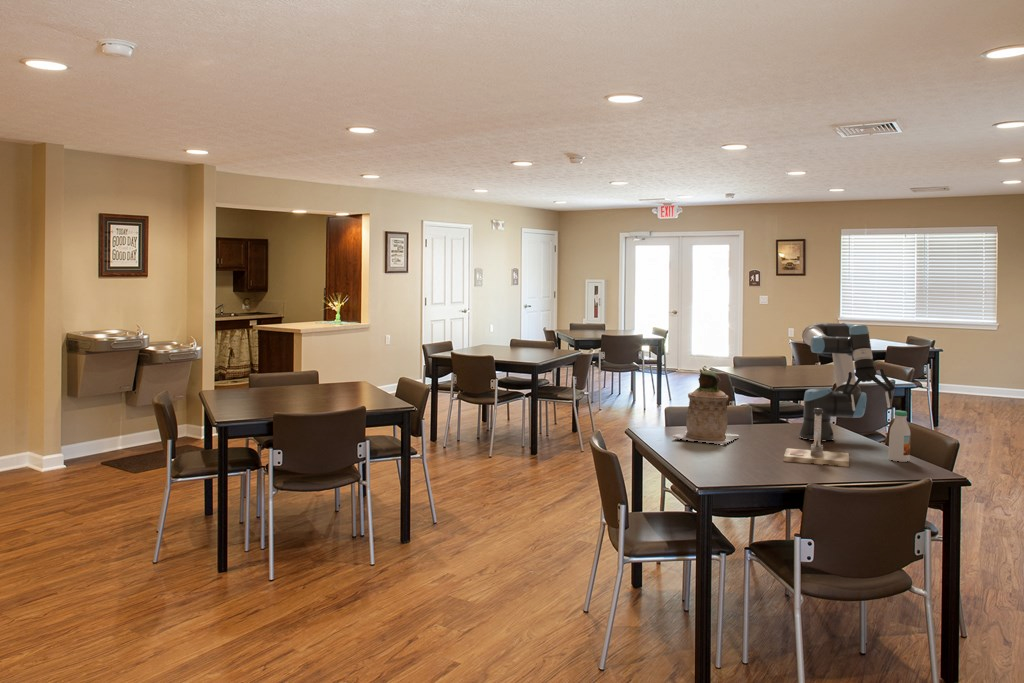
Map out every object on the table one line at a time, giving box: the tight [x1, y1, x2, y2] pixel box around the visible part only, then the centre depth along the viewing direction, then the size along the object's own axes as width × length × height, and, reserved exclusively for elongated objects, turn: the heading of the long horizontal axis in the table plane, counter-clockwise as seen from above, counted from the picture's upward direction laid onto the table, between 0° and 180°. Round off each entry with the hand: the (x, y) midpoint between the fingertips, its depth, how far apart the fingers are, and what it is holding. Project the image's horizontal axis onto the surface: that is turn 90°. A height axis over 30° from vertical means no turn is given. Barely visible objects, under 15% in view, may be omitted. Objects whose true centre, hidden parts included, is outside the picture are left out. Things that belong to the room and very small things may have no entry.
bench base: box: [783, 443, 850, 468], centre depth 327 cm, size 24×18×6 cm
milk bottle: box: [887, 410, 911, 463], centre depth 327 cm, size 8×8×20 cm
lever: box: [813, 408, 823, 447], centre depth 326 cm, size 3×3×18 cm
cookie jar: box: [672, 368, 740, 446], centre depth 368 cm, size 25×25×32 cm
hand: (871, 408), depth 340 cm, fingers open, 13 cm apart
